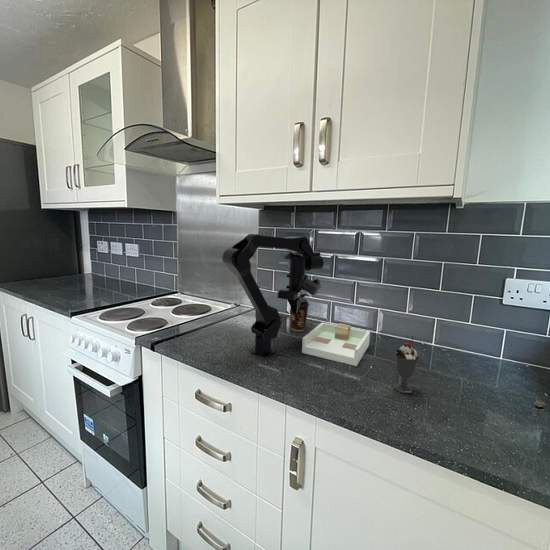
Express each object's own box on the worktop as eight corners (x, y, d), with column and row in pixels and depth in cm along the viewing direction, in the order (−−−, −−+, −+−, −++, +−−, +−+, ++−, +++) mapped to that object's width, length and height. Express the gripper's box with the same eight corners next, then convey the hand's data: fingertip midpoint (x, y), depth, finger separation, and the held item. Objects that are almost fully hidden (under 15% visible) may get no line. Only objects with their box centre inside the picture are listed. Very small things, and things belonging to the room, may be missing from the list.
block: (346, 340, 110) (347, 328, 109) (334, 338, 112) (335, 326, 111) (349, 336, 114) (350, 325, 113) (338, 334, 116) (339, 323, 115)
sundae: (415, 385, 84) (421, 335, 82) (417, 398, 78) (424, 344, 76) (390, 381, 86) (395, 331, 84) (390, 392, 80) (396, 340, 78)
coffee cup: (284, 326, 130) (285, 297, 128) (300, 324, 134) (302, 296, 132) (293, 333, 123) (295, 302, 121) (311, 330, 126) (312, 301, 124)
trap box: (356, 366, 95) (357, 349, 94) (301, 352, 104) (302, 337, 103) (368, 345, 112) (370, 331, 112) (321, 335, 121) (322, 322, 120)
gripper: (308, 277, 94) (305, 324, 97) (327, 270, 111) (324, 311, 113) (277, 273, 100) (275, 318, 102) (299, 268, 116) (297, 306, 118)
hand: (295, 313), depth 109 cm, fingers closed
